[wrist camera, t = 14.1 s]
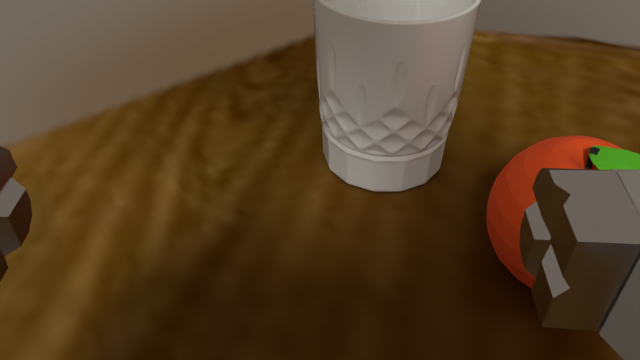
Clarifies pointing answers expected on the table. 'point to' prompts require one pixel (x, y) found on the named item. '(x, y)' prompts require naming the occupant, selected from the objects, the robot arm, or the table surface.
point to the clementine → (517, 182)
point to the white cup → (390, 85)
